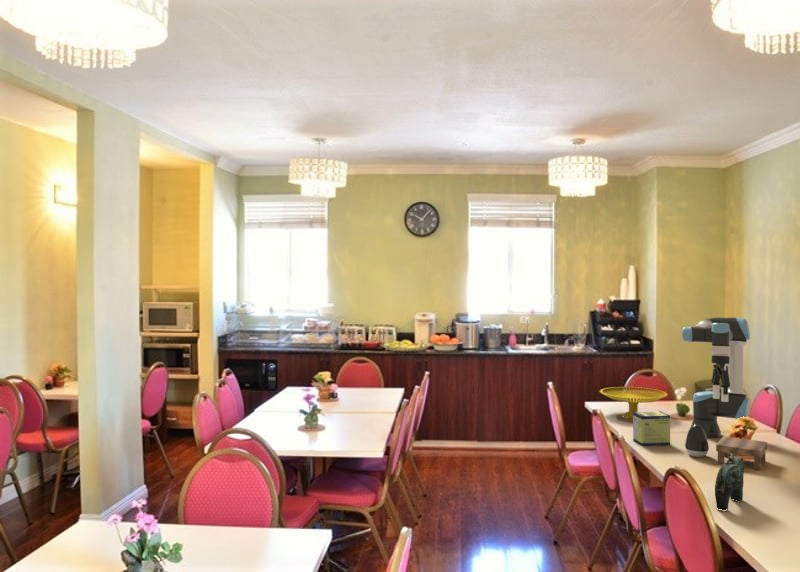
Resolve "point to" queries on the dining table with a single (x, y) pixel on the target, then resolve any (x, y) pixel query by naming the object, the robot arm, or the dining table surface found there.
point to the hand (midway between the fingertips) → (720, 400)
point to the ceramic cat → (729, 481)
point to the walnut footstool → (742, 449)
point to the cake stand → (633, 397)
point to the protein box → (651, 428)
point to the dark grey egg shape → (696, 441)
